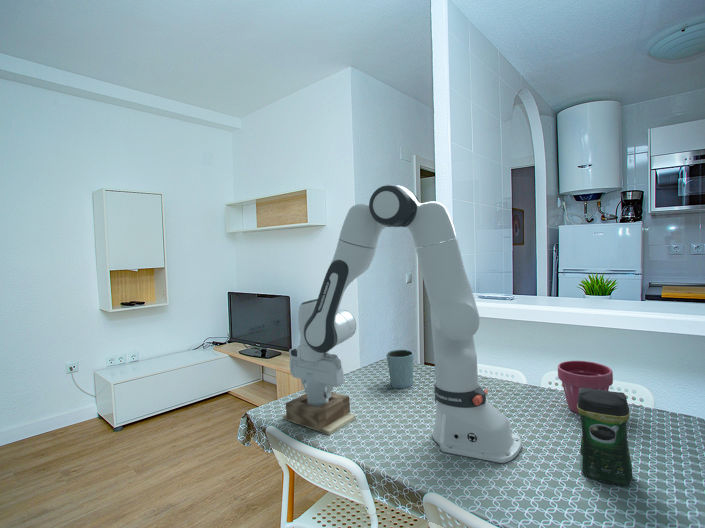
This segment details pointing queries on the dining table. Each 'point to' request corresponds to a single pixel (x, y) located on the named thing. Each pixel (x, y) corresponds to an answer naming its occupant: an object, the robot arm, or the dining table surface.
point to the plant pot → (583, 379)
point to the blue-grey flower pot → (400, 368)
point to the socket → (320, 413)
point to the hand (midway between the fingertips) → (317, 394)
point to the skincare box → (315, 391)
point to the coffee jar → (604, 436)
